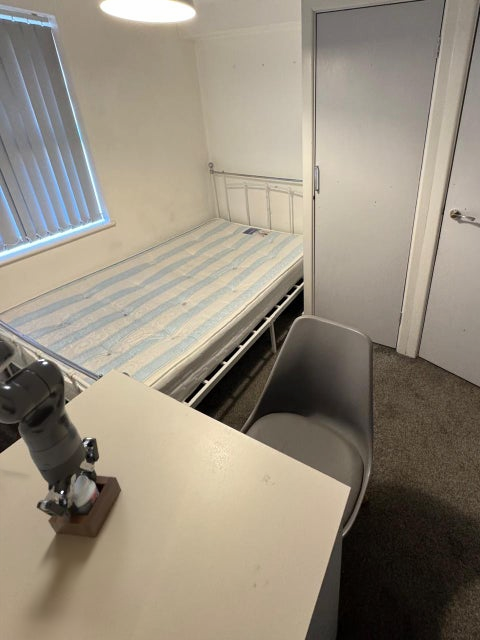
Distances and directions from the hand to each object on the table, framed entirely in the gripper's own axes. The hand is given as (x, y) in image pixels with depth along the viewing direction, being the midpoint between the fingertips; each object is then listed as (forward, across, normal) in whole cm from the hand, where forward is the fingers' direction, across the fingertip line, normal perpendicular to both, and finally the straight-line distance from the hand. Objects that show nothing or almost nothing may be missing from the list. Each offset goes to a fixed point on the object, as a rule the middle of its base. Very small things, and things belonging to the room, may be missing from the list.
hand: (82, 496), depth 71 cm
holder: (+5, 0, 0) cm, 5 cm away
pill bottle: (+6, 0, 0) cm, 6 cm away
